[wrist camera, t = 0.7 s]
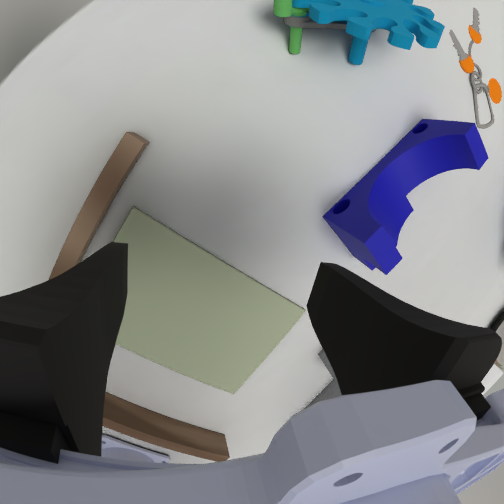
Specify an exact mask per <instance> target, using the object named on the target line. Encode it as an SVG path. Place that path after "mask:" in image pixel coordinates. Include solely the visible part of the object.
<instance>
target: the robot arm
mask: <svg viewBox="0 0 504 504" xmlns="http://www.w3.org/2000/svg"><path fill="white" fill-rule="evenodd" d="M127 293H128V243H118V242H111V243H109V244H107V245H106V246H104V247H103V248H101V249H100V250H98V251H97V252H95V253H94V254H92V255H91V256H90V257H88V258H87V259H85V260H84V261H82V262H80V263H79V264H77V265H75V266H74V267H72V268H71V269H69V270H67V271H66V272H64V273H62V274H60V275H58V276H56V277H54V278H52V279H50V280H48V281H46V282H44V283H41V284H39V285H36V286H33V287H31V288H28V289H25V290H23V291H20V292H17V293H13V294H10V295H6V296H2V297H0V504H461V502H460V500H459V498H458V497H457V495H456V494H458V493H460V492H461V491H463V490H464V489H466V488H468V487H469V486H471V485H472V484H474V483H475V482H477V481H478V480H480V479H481V478H483V477H484V476H486V475H487V474H489V473H490V472H492V471H493V470H495V469H496V468H497V467H498V466H499V465H500V464H502V463H503V462H504V389H501V390H499V391H496V392H494V393H492V394H490V395H489V396H487V397H486V398H484V397H483V395H482V394H481V393H482V392H483V391H484V390H485V387H484V386H483V385H482V383H481V381H482V380H483V378H484V377H485V376H486V374H487V373H488V371H489V370H490V369H491V367H492V366H493V364H494V363H495V361H496V359H497V358H498V356H499V353H500V351H501V347H502V338H501V337H500V336H499V335H498V334H497V333H496V332H495V331H494V330H492V329H489V328H483V327H478V326H472V325H467V324H463V323H459V322H456V321H452V320H448V319H445V318H442V317H439V316H436V315H434V314H431V313H428V312H426V311H423V310H421V309H418V308H416V307H414V306H412V305H410V304H408V303H405V302H403V301H401V300H399V299H397V298H396V297H394V296H392V295H390V294H388V293H387V292H385V291H383V290H381V289H380V288H378V287H376V286H374V285H373V284H371V283H369V282H368V281H366V280H365V279H363V278H361V277H359V276H358V275H356V274H354V273H353V272H351V271H349V270H347V269H345V268H344V267H341V266H339V265H337V264H333V263H323V262H321V263H320V266H319V269H318V273H317V276H316V279H315V282H314V285H313V288H312V291H311V294H310V297H309V300H308V303H307V309H308V313H309V317H310V320H311V323H312V326H313V328H314V331H315V333H316V335H317V337H318V339H319V341H320V344H321V346H322V348H323V350H324V352H325V354H326V356H327V358H328V360H329V362H330V364H331V366H332V369H333V371H334V373H335V376H336V378H337V381H338V385H339V388H340V391H341V394H342V396H339V397H335V398H332V399H328V400H324V401H320V402H317V403H315V404H313V405H311V406H310V407H308V408H306V409H304V410H302V411H300V412H298V413H296V414H295V415H293V416H292V417H291V418H290V419H289V420H288V421H287V422H286V423H285V424H284V425H283V426H282V427H281V428H280V430H279V431H278V432H277V433H276V434H275V435H274V437H273V439H272V441H271V443H270V445H269V447H268V449H267V451H266V452H265V453H263V454H258V455H253V456H248V457H243V458H238V459H232V460H227V461H221V462H214V463H208V464H172V463H168V462H170V457H169V456H166V455H163V454H159V453H156V452H153V451H150V450H146V449H143V448H140V447H137V446H134V445H131V444H129V443H126V442H123V441H120V440H117V439H115V438H112V437H109V436H107V435H102V425H103V411H104V401H105V391H106V383H107V376H108V370H109V365H110V361H111V357H112V354H113V350H114V347H115V343H116V340H117V336H118V333H119V330H120V326H121V323H122V319H123V316H124V311H125V305H126V299H127Z"/></svg>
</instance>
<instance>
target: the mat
mask: <svg viewBox="0 0 504 504" xmlns="http://www.w3.org/2000/svg"><path fill="white" fill-rule="evenodd" d="M113 242H118V243H128V293H127V299H126V305H125V311H124V316H123V319H122V323H121V326H120V330H119V333H118V336H117V340H116V343H115V344H117V345H119V346H121V347H123V348H126V349H128V350H130V351H132V352H134V353H136V354H138V355H140V356H142V357H144V358H147V359H149V360H151V361H153V362H155V363H158V364H160V365H162V366H164V367H167V368H169V369H171V370H174V371H176V372H178V373H181V374H183V375H185V376H188V377H190V378H193V379H195V380H198V381H200V382H203V383H205V384H208V385H211V386H213V387H216V388H218V389H221V390H224V391H227V392H229V393H232V394H234V393H235V392H236V391H237V390H238V389H239V388H240V387H241V386H242V384H243V383H244V382H245V381H246V380H247V379H248V378H249V377H250V376H251V374H252V373H253V372H254V371H255V370H256V369H257V368H258V367H259V365H260V364H261V363H262V362H263V361H264V360H265V359H266V357H267V356H268V355H269V354H270V353H271V352H272V351H273V349H274V348H275V347H276V346H277V345H278V344H279V342H280V341H281V340H282V339H283V338H284V336H285V335H286V334H287V333H288V332H289V331H290V329H291V328H292V327H293V326H294V325H295V323H296V322H297V321H298V320H299V318H300V317H301V316H302V315H303V314H304V312H305V309H303V308H302V307H300V306H298V305H296V304H295V303H293V302H291V301H290V300H288V299H286V298H284V297H283V296H281V295H279V294H278V293H276V292H274V291H273V290H271V289H269V288H267V287H266V286H264V285H262V284H261V283H259V282H257V281H256V280H254V279H252V278H250V277H249V276H247V275H245V274H244V273H242V272H240V271H239V270H237V269H235V268H234V267H232V266H230V265H229V264H227V263H225V262H224V261H222V260H220V259H219V258H217V257H215V256H214V255H212V254H210V253H209V252H207V251H205V250H204V249H202V248H200V247H199V246H197V245H195V244H194V243H192V242H190V241H189V240H187V239H186V238H184V237H182V236H181V235H179V234H177V233H176V232H174V231H172V230H171V229H169V228H168V227H166V226H164V225H163V224H161V223H159V222H158V221H156V220H155V219H153V218H151V217H150V216H148V215H146V214H145V213H143V212H142V211H140V210H138V209H137V208H135V207H133V209H132V210H131V212H130V214H129V215H128V217H127V219H126V220H125V222H124V224H123V225H122V227H121V229H120V231H119V232H118V234H117V236H116V238H115V239H114V241H113Z"/></svg>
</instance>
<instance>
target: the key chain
mask: <svg viewBox="0 0 504 504" xmlns="http://www.w3.org/2000/svg"><path fill="white" fill-rule="evenodd" d="M478 15H479V14H478V11H477V10H476V9H475V8H474V11H473V25H471V26H470V25H469V34H470V36H471V38H472V41H471V42H470V43H471V44H469V46H470V47H469V51H468V52H469V55H468V54H466V53H464V51H463V49H462V47H461V45H460V43H459V42H458V40H457V38H456V36H455V34H454V33H453V31H452V30H450V33H449V34H450V36H451V38H452V40H453V42H454V45H453V46H454V47H455V48H456V49H457V50H458V51H457V52H458V56H460V60H459V62H460V65H461V67H462V69H463V70H464V71H465V72H467V73H470V75H471V83H472V86H473V94H474V106H475V117H476V123H477V126H478V127H479V128H483V129H484V128H488V127H489V126H491V125H492V124H493V123H494V115H493V112H492V108H491V103H490V99H489V95H490V97H491V99H492V101H493V102H494V103H496V104H497V103H499V102H500V101H501V97H502V93H501V88H500V85H499V83H498V82H497V80H496V79H494V78H492V79H490V81H489V84H488V86H486V84H482V80H481V78H482V72H481V69H480V68H479V66H478V65H477V64H475V63H473V60H472V58H471V47H472V44H473V43H474V42H475V43H477V44H478V43H481V40H482V39H481V35H480V33H479V26H478V25H479V24H480V22H479V21H478V20H479V18H478ZM474 66H476V67H477V69H478V70H479V74H480V75H479V74H478V73H477V72H476V71H473V70H474ZM475 74H476V75H477V76H478V79H476V78H475V77H474V75H475ZM474 80H475V81H477V82H478V81H480V84H476V85H475V83H474ZM479 87H480V89H479V90H477V88H479ZM483 87H484V88H483ZM487 87H488V88H487ZM482 89H483V92H484V90H485V92H486V94H487V98H488V102H489V106H490V110H491V121H490V122H489V123H488V124H485V125H480V123H479V116H478V105H477V94H476V92H477V93H478V94H479V93H481V92H482ZM488 93H489V95H488Z"/></svg>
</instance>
